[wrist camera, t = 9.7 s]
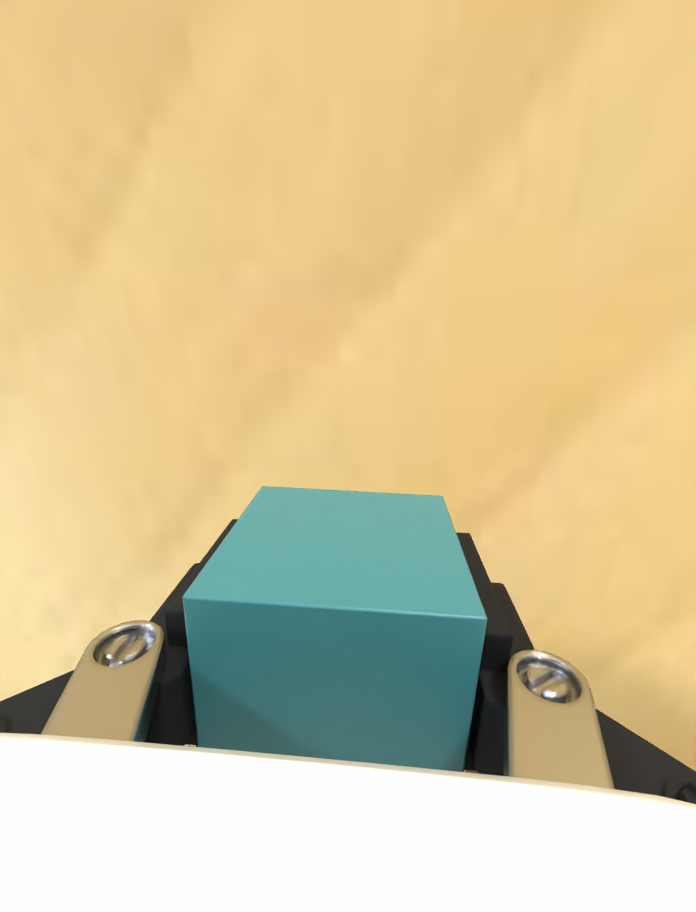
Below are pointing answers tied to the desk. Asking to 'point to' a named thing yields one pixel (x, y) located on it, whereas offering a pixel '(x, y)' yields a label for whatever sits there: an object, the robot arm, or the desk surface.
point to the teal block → (337, 631)
